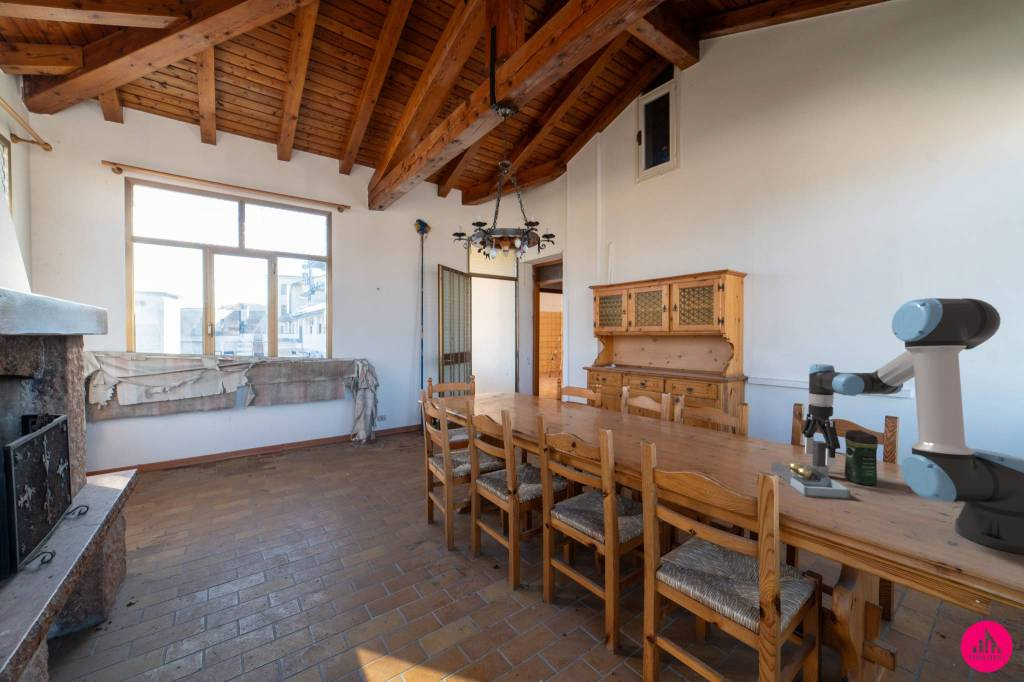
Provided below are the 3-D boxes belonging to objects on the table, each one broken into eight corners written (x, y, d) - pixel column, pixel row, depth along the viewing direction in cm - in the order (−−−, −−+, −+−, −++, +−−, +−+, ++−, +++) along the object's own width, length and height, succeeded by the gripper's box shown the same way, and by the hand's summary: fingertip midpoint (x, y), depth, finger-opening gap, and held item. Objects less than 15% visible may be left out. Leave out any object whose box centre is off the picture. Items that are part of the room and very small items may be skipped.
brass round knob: (804, 473, 151) (804, 465, 151) (792, 473, 152) (792, 465, 152) (798, 470, 155) (798, 462, 155) (787, 469, 156) (787, 461, 156)
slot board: (830, 488, 143) (830, 478, 142) (793, 486, 145) (793, 476, 144) (805, 472, 158) (805, 463, 158) (771, 470, 160) (771, 462, 160)
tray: (849, 498, 134) (850, 489, 134) (804, 496, 136) (804, 487, 136) (832, 488, 142) (832, 479, 142) (790, 486, 145) (790, 477, 145)
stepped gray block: (828, 477, 153) (829, 443, 153) (815, 476, 154) (816, 443, 153) (823, 474, 156) (823, 441, 156) (810, 473, 157) (811, 440, 156)
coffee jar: (881, 487, 144) (883, 435, 143) (856, 485, 145) (857, 434, 145) (864, 477, 153) (865, 428, 152) (840, 475, 155) (841, 427, 154)
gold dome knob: (814, 479, 146) (814, 471, 146) (801, 478, 146) (802, 470, 146) (807, 475, 150) (808, 467, 149) (796, 474, 150) (796, 466, 150)
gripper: (853, 412, 141) (852, 471, 142) (812, 399, 166) (811, 450, 167) (830, 411, 142) (828, 470, 143) (792, 398, 167) (791, 449, 168)
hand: (819, 459), depth 155 cm, fingers open, 13 cm apart
